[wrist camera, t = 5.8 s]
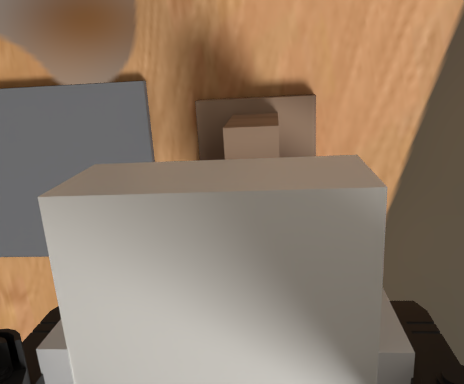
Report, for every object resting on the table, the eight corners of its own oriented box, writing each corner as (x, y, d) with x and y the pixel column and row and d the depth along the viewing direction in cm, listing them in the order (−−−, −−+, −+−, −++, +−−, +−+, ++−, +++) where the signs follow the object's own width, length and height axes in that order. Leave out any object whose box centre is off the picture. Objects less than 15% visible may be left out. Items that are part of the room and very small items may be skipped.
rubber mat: (145, 80, 30) (143, 81, 29) (164, 251, 33) (162, 255, 33) (-67, 92, 31) (-73, 92, 31) (-26, 254, 35) (-31, 257, 34)
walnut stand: (314, 231, 32) (325, 277, 25) (208, 233, 33) (191, 277, 26) (314, 94, 29) (326, 104, 22) (197, 100, 30) (175, 111, 23)
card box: (348, 458, 14) (368, 562, 11) (138, 451, 14) (105, 546, 12) (357, 155, 11) (387, 187, 8) (94, 164, 12) (37, 196, 9)
